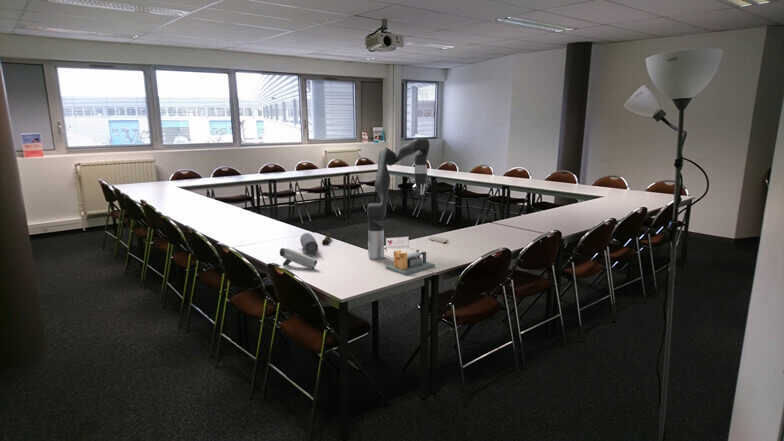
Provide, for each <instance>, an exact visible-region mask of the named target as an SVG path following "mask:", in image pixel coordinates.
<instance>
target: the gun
mask: <svg viewBox="0 0 784 441" xmlns="http://www.w3.org/2000/svg"><path fill="white" fill-rule="evenodd" d="M279 255H280V256H281V257H282V258H283V259H285V260H284V262H283V263H282V265H283V266H285V265H286V266H288V265H290V263H292V262H293V263H295V264H297V265H300V266H302V267H305V268H307V269H310V270H314V269H315V267H317V264H318V260H317V259H315V258H313V257H311V256H308V255H306V254H303V253H301V252H298V251H296V250H293V249H290V248H288V247H287V248H284V247H282V248H280V250H279Z"/></svg>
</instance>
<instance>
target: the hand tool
mask: <svg viewBox="0 0 784 441" xmlns="http://www.w3.org/2000/svg"><path fill="white" fill-rule="evenodd" d="M330 241H331V233H330V232H328V233H326V235H325V237H324V239H322V243H321V245H322V246H327V245H329V242H330Z"/></svg>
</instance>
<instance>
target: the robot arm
mask: <svg viewBox="0 0 784 441" xmlns="http://www.w3.org/2000/svg"><path fill="white" fill-rule="evenodd" d="M429 150H430V141H429V140H428V139H427V138H415V139H413V140H412V139H411V141H410V142H408V143H405V144H403V145H402V146H401V147H400V148H399V150H398V153H396V152H394V151H393V150H391V149H390V148H388V147H383V148H381V150H380V151H379V153H378V161H377V171H376V177H375V181H374V189H375V191H376V194H378V196H379V200H380V202H377V203H376V202H373V203H372V202H371V203H368V205H367V208H366V211H367V213H366V214H367V228H368V241H367V246H368V247H367V251H368V252H367V254H368V255H367V256H368V258H369V259H370V260H381V259H384V258H385V235H384V234H385V233H384V231H385V230H384V224H382V223H380V222H378V221H376V220H383V219H384V218H385V217H386V214H387V207H388V206H387V205H388V197H389V190H390V186H391V175H390V172H389V169H388V166H389V167H392V166H393V165H396V164H397V163H398V162H401V160H403V159H404V158H407V157H408V156H411V155H415V153H417V152H418V151H419V153H418V154H416V155H415V156H414V180H415V181H414V185H413V186H411V189H412V190H413V191H414V193H415V195H417V196H418V197H417V199H418V201H419V202H423V201H424V196H425V194H426V193H427V192H428V190H429V188H430V184H428V183H427V180H428V165H427V164H428V162H427V161H428V159H427V157H428V154H429Z"/></svg>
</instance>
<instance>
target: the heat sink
mask: <svg viewBox="0 0 784 441" xmlns="http://www.w3.org/2000/svg"><path fill="white" fill-rule="evenodd" d="M422 260H423V257H420V258H419V257H416V256H415V257H411V258H407V267H409V268H413V267H417V266H420V265H422Z"/></svg>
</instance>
